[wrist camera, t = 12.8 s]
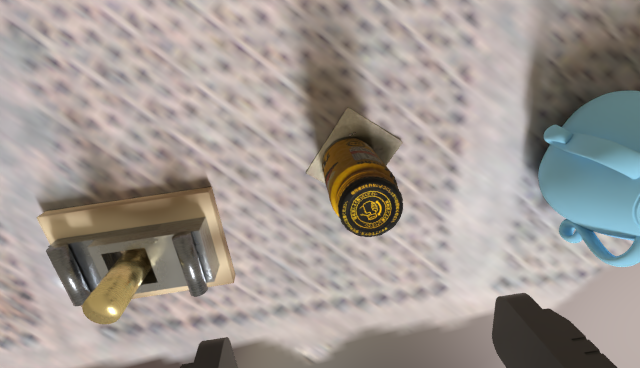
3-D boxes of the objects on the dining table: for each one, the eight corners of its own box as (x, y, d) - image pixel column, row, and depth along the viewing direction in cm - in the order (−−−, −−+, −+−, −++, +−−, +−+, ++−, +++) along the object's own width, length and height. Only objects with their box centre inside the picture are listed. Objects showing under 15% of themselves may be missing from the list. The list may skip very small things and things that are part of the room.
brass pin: (123, 242, 37) (76, 298, 29) (152, 238, 38) (114, 292, 29) (133, 266, 39) (90, 326, 30) (161, 262, 39) (126, 321, 30)
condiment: (305, 172, 38) (312, 224, 27) (347, 106, 35) (374, 133, 24) (359, 201, 40) (386, 261, 29) (402, 141, 37) (449, 181, 26)
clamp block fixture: (46, 211, 37) (0, 241, 31) (211, 186, 37) (197, 212, 32) (88, 298, 41) (55, 339, 36) (235, 275, 42) (226, 311, 36)
